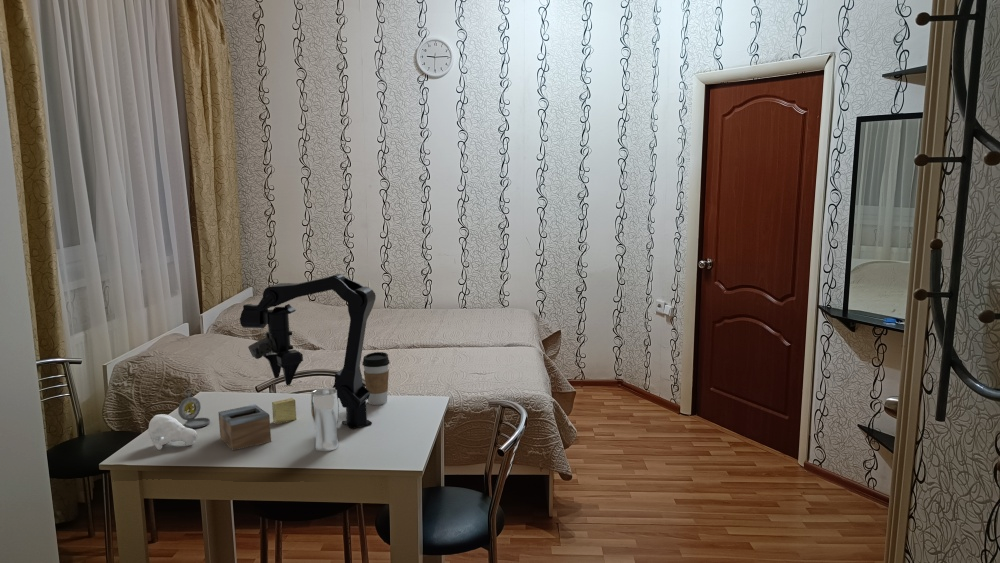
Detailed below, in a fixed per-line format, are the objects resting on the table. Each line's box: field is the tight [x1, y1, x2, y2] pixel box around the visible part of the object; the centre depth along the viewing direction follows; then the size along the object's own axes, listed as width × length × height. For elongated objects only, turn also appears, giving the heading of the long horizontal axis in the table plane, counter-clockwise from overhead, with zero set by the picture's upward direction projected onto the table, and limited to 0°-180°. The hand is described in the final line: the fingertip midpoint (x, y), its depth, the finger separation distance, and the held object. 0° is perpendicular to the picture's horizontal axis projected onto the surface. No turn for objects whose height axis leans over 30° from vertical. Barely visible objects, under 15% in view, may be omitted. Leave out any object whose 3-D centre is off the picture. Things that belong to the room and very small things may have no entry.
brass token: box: [271, 397, 297, 425], centre depth 211 cm, size 2×6×6 cm, turn 127°
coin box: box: [217, 404, 272, 451], centre depth 196 cm, size 11×10×8 cm
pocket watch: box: [177, 388, 211, 429], centre depth 209 cm, size 8×8×10 cm
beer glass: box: [310, 387, 340, 452], centre depth 189 cm, size 7×7×15 cm
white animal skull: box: [147, 413, 198, 451], centre depth 193 cm, size 6×8×12 cm
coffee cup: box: [361, 351, 390, 406], centre depth 226 cm, size 8×8×15 cm
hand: (282, 381), depth 209 cm, fingers open, 9 cm apart
